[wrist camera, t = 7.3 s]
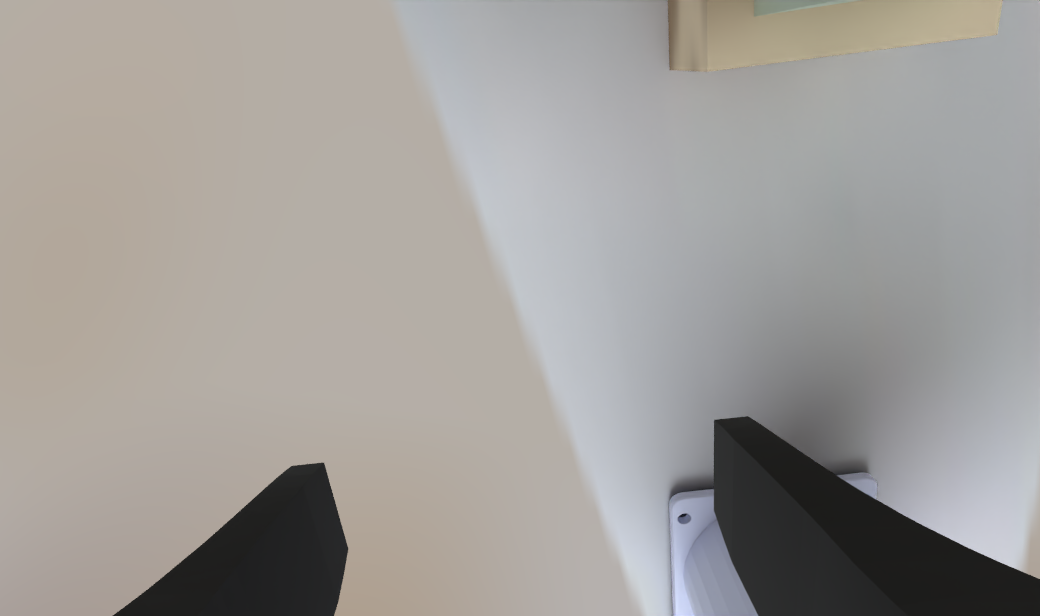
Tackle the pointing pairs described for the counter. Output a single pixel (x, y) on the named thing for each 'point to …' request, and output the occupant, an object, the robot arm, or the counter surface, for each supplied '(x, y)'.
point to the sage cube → (790, 5)
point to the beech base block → (815, 29)
